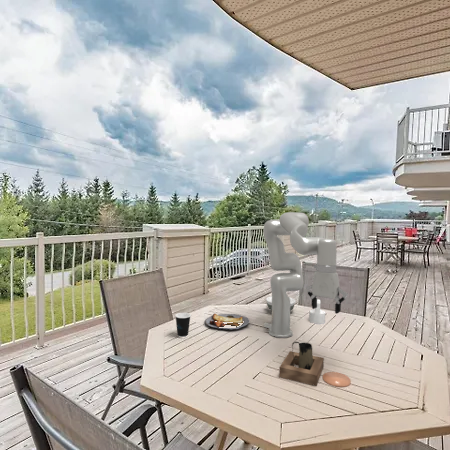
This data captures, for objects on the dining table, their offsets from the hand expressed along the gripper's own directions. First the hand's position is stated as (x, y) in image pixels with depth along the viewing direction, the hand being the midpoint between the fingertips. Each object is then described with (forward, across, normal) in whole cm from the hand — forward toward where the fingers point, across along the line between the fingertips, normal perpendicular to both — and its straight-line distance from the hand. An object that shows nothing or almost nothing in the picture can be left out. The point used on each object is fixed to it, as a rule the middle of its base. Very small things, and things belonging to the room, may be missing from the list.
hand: (325, 310), depth 131 cm
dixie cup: (+23, -67, -17) cm, 73 cm away
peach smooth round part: (+23, +8, -7) cm, 26 cm away
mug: (+24, -5, -11) cm, 26 cm away
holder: (+23, -5, -11) cm, 26 cm away
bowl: (+23, -50, +51) cm, 75 cm away
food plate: (+23, -62, +12) cm, 67 cm away
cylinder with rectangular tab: (+23, -25, +50) cm, 61 cm away
